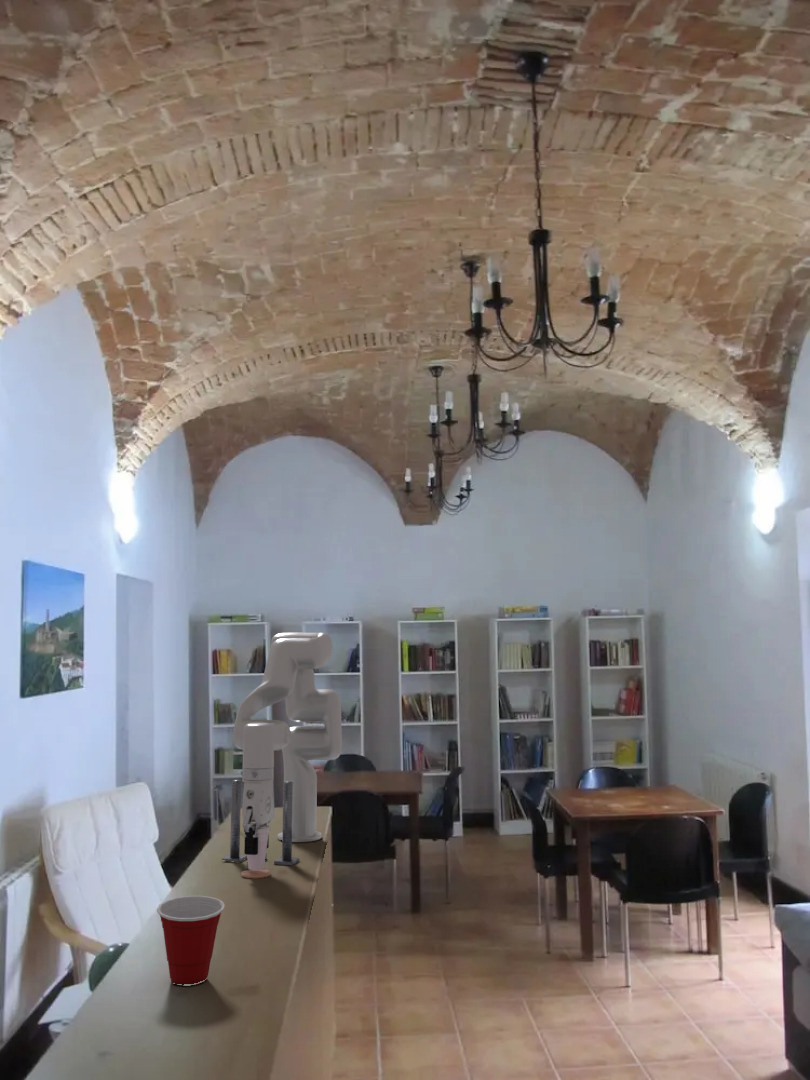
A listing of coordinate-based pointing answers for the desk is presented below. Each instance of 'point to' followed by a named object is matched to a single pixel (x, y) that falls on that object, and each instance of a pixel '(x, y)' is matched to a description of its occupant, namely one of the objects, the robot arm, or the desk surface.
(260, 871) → the coaster
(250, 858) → the smoothie
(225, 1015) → the desk surface
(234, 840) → the post
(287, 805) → the post
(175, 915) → the plastic cup
